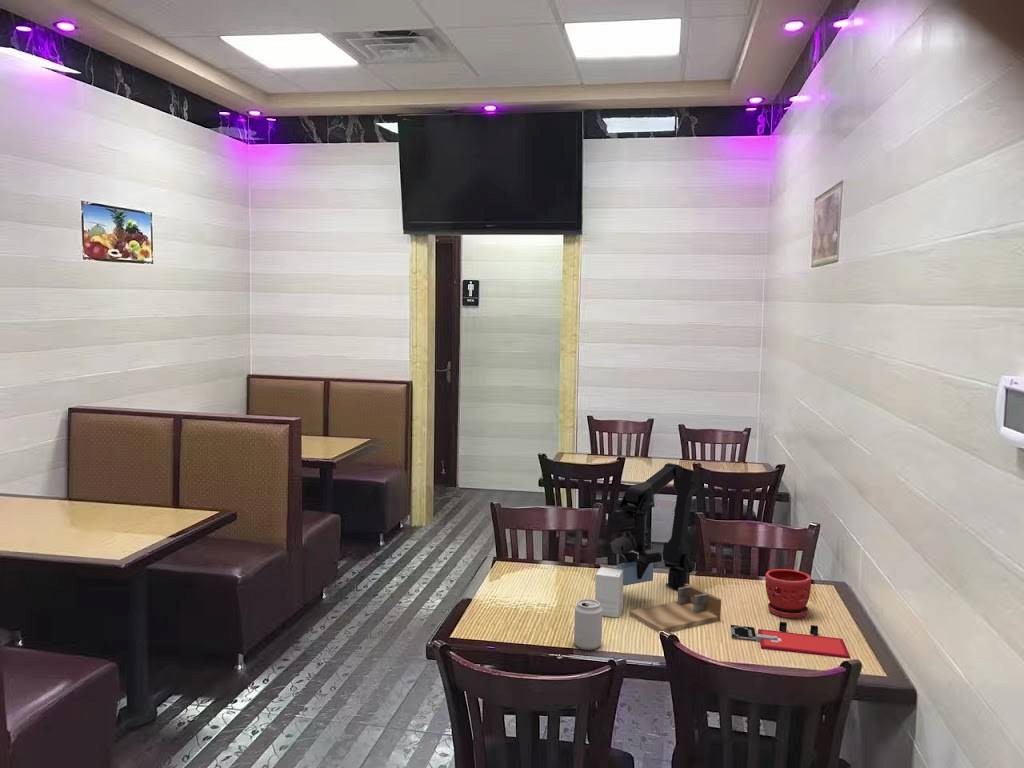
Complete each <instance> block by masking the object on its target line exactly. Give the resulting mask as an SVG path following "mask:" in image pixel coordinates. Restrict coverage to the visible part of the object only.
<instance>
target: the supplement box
mask: <svg viewBox="0 0 1024 768" xmlns="http://www.w3.org/2000/svg"><path fill="white" fill-rule="evenodd" d="M594 576H595V583H594V585H595V587H594V589H595V591H594V592H595V593H594V595H595V596H594V598H595V599H594V600H596V601H598V602H599V603H600V606H601V607H602V617H609V616H610V617H612V618H617V617H618V618H619V617H620V616H621V613H622V612H623V610H624V608H623V607H624V604H623V603H624V602H623V601H624V585H623V570H621V569H617V568H611V567H609V568H608V567H603V566H602V567H600V568H599V569H598V571H597V572H596V573H595V575H594Z"/></svg>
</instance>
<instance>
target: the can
mask: <svg viewBox="0 0 1024 768" xmlns="http://www.w3.org/2000/svg"><path fill="white" fill-rule="evenodd" d="M573 626H574V627H573V628H574V629H573V630H574V631H573V643H574V645H576V646H577V648H579V649H582V650H588V651H592V649H593V650H596V649H598V648H599V647H600V646H601V645H602V638H603V636H602V634H603V616H602V607H601V606H600V603H599V602H598V601H596V600H595V599H591V598H583V599H580V600H577V602H576V605H575V606H574V625H573Z"/></svg>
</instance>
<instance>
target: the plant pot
mask: <svg viewBox="0 0 1024 768" xmlns="http://www.w3.org/2000/svg"><path fill="white" fill-rule="evenodd" d="M789 579H791V580H789ZM811 588H812V578H811V575H810V574H808V573H807V572H806V573H805V572H802V571H800V570H795V569H787V568H786V569H785V568H784V569H783V568H777V569H771V570H768V571H767V572H766V573H765V592H766V596H767V598H768V601H769V603H768V604H767V607H768V610H769V611H770V612H771V613H773V614H774V615H776V616H778V617H779V616H780V617H783V618H788V619H798V618H802V617H805V616H806V615H807V614H808V613H809V607H808V606H807V605H808V602H809V600H810V596H811Z"/></svg>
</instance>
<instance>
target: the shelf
mask: <svg viewBox="0 0 1024 768" xmlns="http://www.w3.org/2000/svg"><path fill="white" fill-rule="evenodd" d="M721 609H722V599H721V598H719V597H716V596H715V595H713V594H710V593H709V592H706V591H704V590H702V589H700V588H697V587H696V586H693V585H691V584H690V583H689V584H684V587H680V588H678V591H677V600H675V601H671V602H667V603H662V604H657V605H652V606H646V607H641V608H636V609H631V610H629V615H630V616H629V617H631V618H633V619H634V618H635V619H634V620H636V619H637V620H636V621H638V620H639V621H638V622H640V623H641V622H642V623H641V624H643V623H644V624H643V625H645V624H646V625H645V626H647V627H648V626H649V627H648V628H650V627H651V628H650V629H652V628H653V629H652V630H653V631H655V630H656V631H655V632H657V633H659V631H668V633H671V632H672V633H673V632H676V631H681V630H685V629H690V628H694V627H699V626H703V625H707V624H712V623H716V621H717V622H720V621H721V617H722V616H721V615H722V614H721V612H722V611H721Z"/></svg>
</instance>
